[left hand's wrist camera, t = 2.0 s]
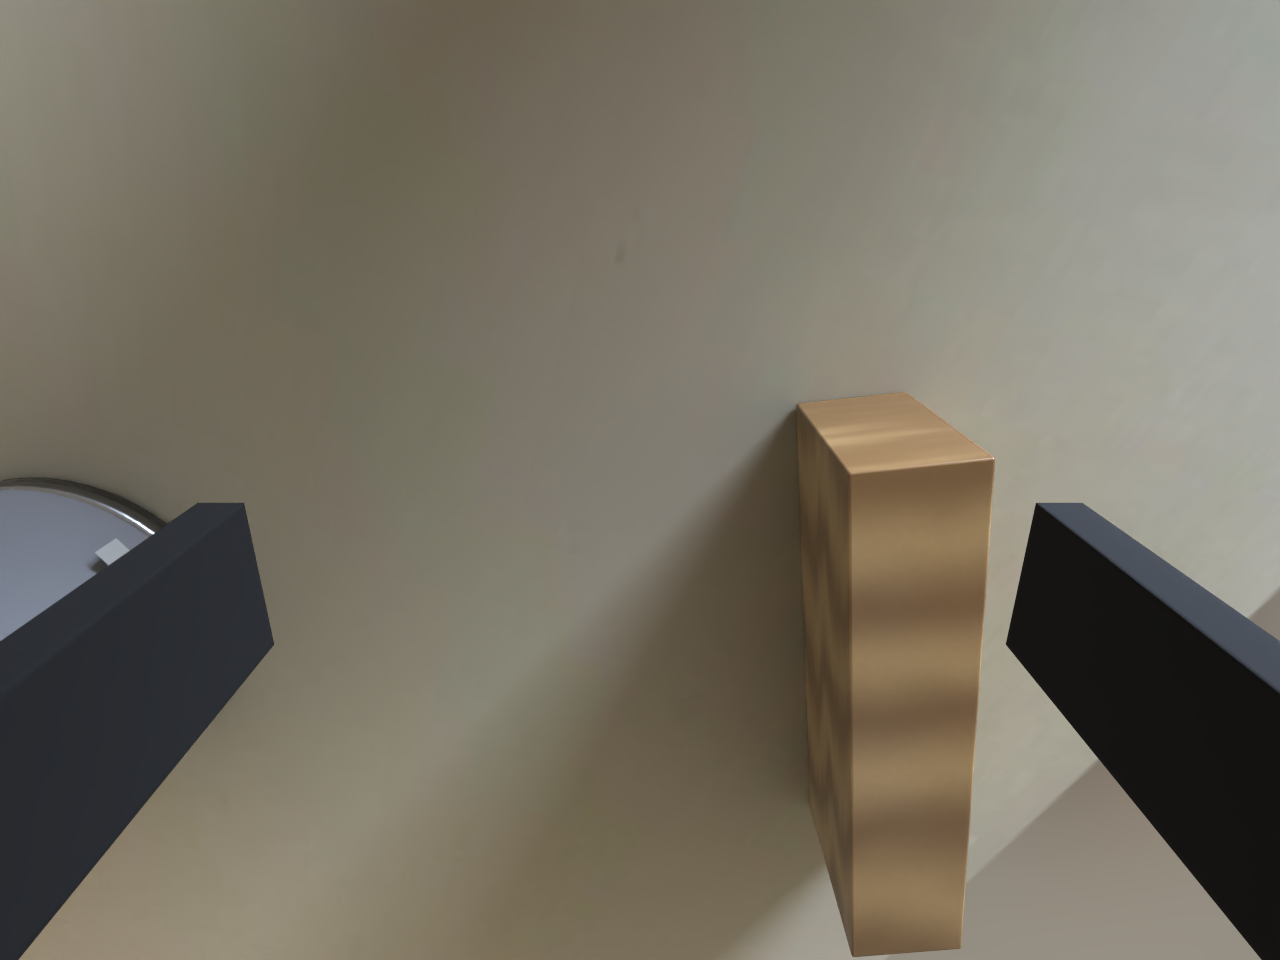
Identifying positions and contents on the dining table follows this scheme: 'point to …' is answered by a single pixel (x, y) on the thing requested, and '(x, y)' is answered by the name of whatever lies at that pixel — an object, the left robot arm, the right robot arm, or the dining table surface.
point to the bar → (892, 659)
